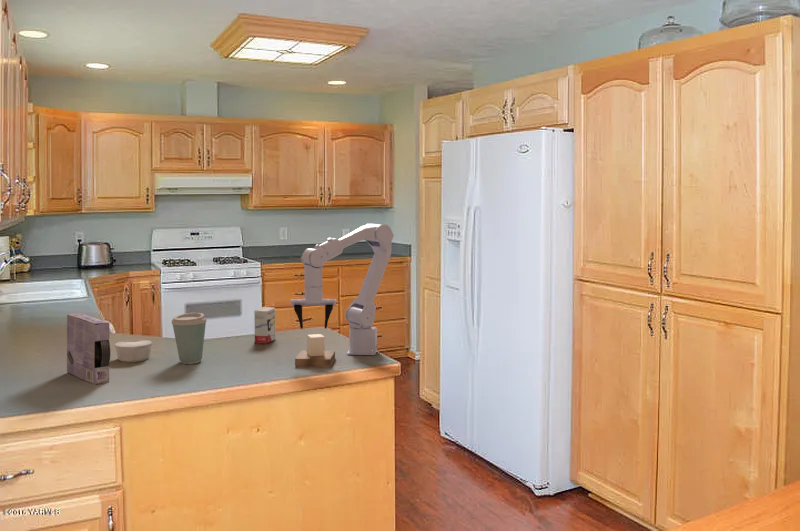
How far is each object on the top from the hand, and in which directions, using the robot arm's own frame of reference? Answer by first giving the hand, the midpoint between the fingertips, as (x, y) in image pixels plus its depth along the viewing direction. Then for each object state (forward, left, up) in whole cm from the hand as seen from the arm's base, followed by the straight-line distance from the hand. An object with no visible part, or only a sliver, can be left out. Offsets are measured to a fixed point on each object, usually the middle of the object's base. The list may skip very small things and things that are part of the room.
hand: (313, 327), depth 225 cm
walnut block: (-1, +4, -11) cm, 11 cm away
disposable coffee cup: (+38, +7, -11) cm, 40 cm away
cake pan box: (+60, +28, -11) cm, 67 cm away
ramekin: (+57, +5, -11) cm, 59 cm away
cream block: (-1, +3, -8) cm, 9 cm away
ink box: (+22, -25, -11) cm, 35 cm away
